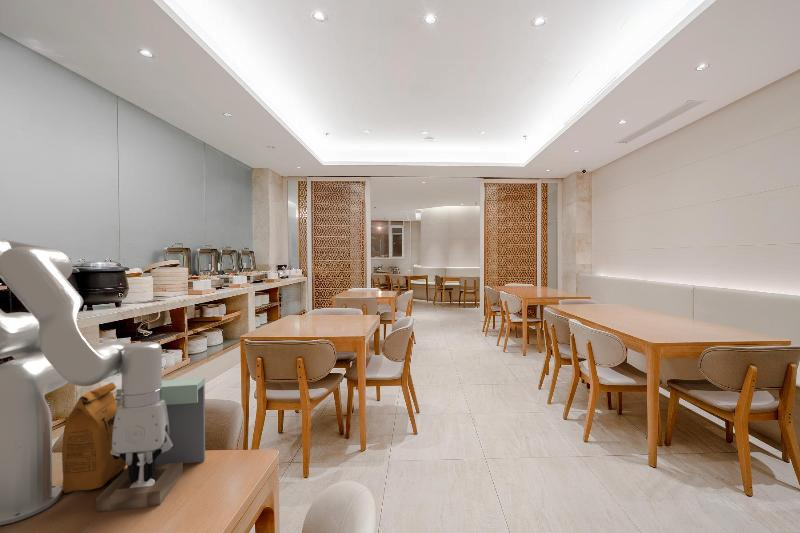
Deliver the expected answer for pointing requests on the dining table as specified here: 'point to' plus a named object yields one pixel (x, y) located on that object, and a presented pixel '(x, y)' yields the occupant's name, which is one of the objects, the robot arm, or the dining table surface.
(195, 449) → the grey green box
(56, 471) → the dining table surface
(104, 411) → the coffee package
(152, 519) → the dining table surface
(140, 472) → the chess piece
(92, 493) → the dining table surface
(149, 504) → the socket block
